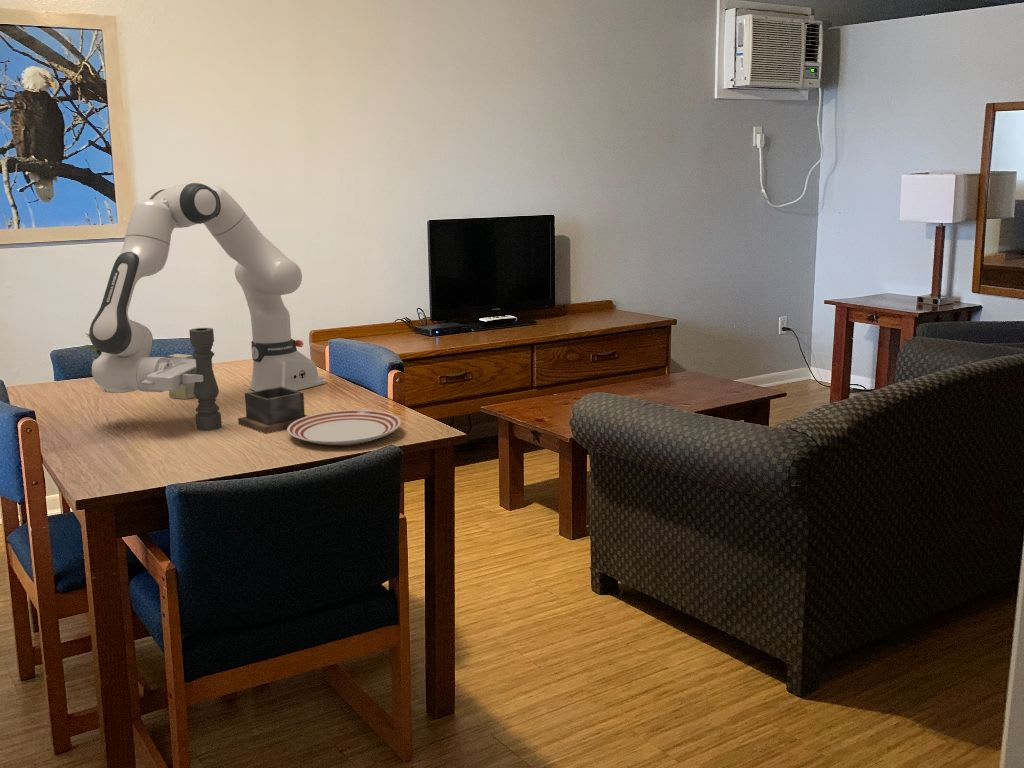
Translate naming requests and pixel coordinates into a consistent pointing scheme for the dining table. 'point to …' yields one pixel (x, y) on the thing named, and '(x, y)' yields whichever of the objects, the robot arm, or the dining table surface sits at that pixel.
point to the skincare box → (186, 389)
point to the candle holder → (208, 388)
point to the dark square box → (272, 409)
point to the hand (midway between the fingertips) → (208, 375)
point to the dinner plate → (344, 427)
